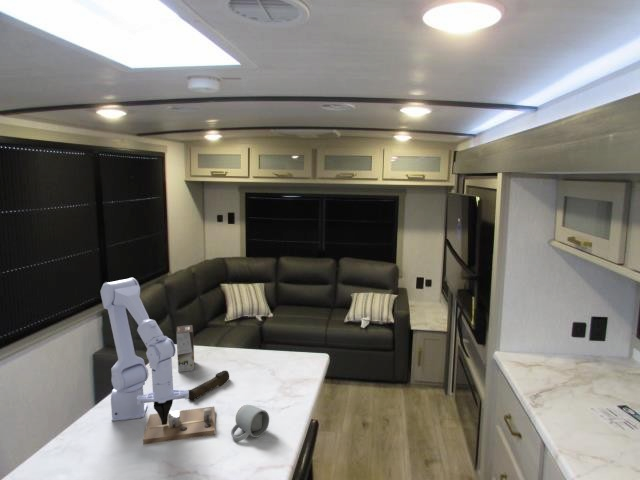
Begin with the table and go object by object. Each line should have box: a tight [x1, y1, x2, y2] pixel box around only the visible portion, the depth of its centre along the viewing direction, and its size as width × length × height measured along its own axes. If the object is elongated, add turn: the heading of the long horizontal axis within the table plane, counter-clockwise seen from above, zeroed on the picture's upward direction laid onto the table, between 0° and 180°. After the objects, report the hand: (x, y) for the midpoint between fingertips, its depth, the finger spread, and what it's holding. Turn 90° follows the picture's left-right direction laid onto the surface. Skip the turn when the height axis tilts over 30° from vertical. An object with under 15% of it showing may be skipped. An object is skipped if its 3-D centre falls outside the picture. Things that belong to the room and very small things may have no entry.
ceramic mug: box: [230, 404, 270, 442], centre depth 129 cm, size 11×8×8 cm
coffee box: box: [175, 324, 195, 373], centre depth 174 cm, size 9×6×16 cm
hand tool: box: [188, 370, 230, 402], centre depth 156 cm, size 19×4×5 cm, turn 146°
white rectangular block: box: [169, 409, 181, 428], centre depth 130 cm, size 3×5×3 cm, turn 14°
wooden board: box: [142, 406, 216, 446], centre depth 132 cm, size 20×14×5 cm
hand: (164, 423), depth 130 cm, fingers closed
